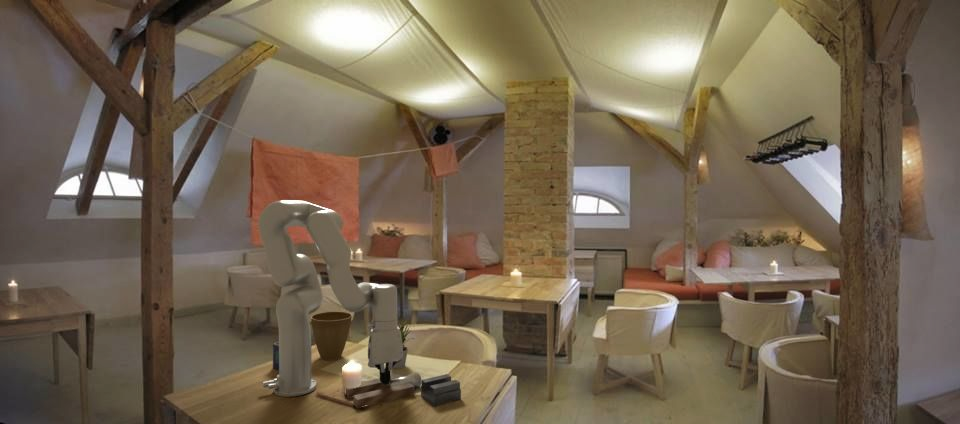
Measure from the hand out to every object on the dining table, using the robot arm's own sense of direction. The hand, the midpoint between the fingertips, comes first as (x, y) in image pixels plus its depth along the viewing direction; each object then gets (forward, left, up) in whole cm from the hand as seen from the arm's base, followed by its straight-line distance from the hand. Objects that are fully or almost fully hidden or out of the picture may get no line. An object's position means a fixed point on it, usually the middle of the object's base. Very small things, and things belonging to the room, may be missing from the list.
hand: (385, 382), depth 143 cm
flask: (-23, +38, -4) cm, 45 cm away
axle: (+6, 0, -3) cm, 7 cm away
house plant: (+13, +21, -3) cm, 25 cm away
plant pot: (-5, +42, -4) cm, 43 cm away
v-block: (+13, -12, -3) cm, 18 cm away
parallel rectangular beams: (-2, 0, -3) cm, 4 cm away
